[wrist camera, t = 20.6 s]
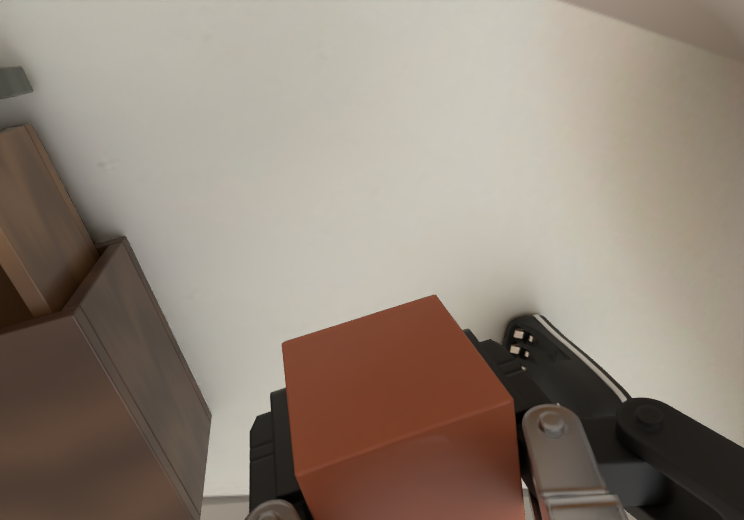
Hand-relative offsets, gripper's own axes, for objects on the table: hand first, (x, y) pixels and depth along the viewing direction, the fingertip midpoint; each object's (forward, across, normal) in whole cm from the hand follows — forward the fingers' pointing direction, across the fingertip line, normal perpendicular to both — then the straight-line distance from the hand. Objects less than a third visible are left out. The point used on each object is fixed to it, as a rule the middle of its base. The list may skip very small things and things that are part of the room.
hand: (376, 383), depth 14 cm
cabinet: (+17, +17, +6) cm, 25 cm away
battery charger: (+18, -12, +16) cm, 27 cm away
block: (0, 0, 0) cm, 0 cm away
